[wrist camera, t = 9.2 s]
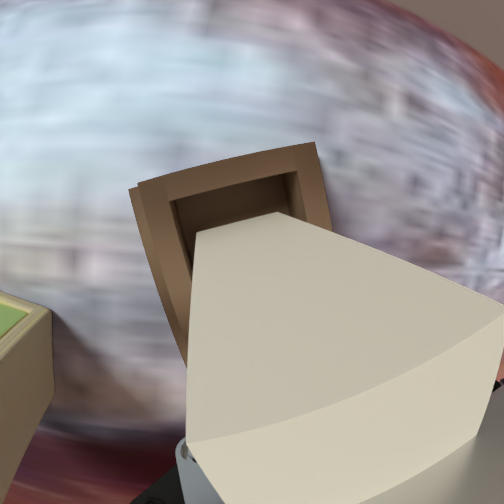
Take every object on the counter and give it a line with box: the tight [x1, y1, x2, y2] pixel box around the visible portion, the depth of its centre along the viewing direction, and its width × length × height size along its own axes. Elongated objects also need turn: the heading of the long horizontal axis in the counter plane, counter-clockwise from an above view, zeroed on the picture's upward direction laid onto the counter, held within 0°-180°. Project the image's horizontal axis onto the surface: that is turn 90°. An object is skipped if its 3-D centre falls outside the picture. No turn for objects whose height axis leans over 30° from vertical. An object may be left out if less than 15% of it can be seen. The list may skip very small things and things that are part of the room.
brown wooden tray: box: [128, 142, 333, 368], centre depth 15 cm, size 15×9×4 cm, turn 13°
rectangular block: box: [186, 212, 504, 504], centre depth 9 cm, size 10×4×11 cm, turn 13°
